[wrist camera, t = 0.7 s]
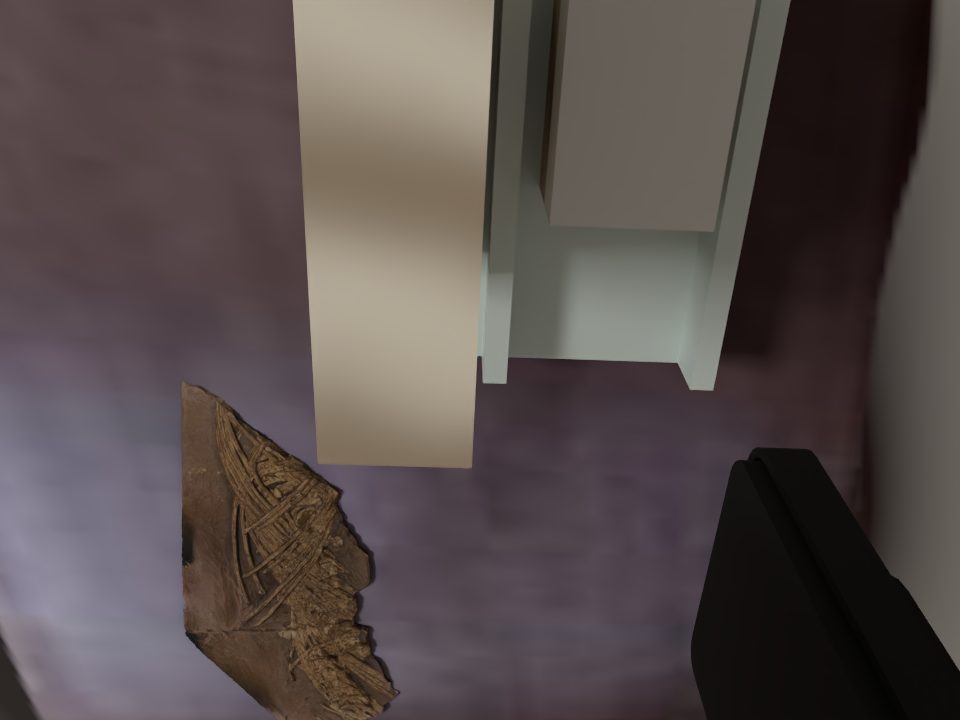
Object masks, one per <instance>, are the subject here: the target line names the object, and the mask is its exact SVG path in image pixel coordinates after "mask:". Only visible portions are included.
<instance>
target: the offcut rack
mask: <svg viewBox="0 0 960 720" xmlns="http://www.w3.org/2000/svg"><path fill="white" fill-rule="evenodd" d="M790 1H791V0H756V4H755V10H754V15H753V21H752V26H751V32H750V37H749V43H748V48H747V54H746V59H745V65H744V70H743V76H742V81H741V87H740V92H739V98H738V103H737V109H736V114H735V120H734V125H733V131H732V136H731V142H730V147H729V153H728V158H727V164H726V169H725V175H724V180H723V186H722V191H721V197H720V202H719V208H718V214H717V219H716V225H715V230H714V232H706V231H680V230H654V229H628V228H602V227H576V226H550V225H549V221H548V217H547V214H546V210H545V206H544V202H543V198H542V195H541V191H540V187H539V183H540V170H541V157H542V145H543V132H544V119H545V106H546V94H547V81H548V68H549V56H550V43H551V30H552V18H553V5H554V0H494V17H493V38H492V59H491V79H490V100H489V120H488V141H487V162H486V182H485V203H484V224H483V244H482V265H481V285H480V306H479V327H478V347H477V356H482V370H483V383H500V384H506V378H507V364H508V357H524V358H554V359H583V360H613V361H643V362H673V363H678V365H679V367H680V369H681V371H682V373H683V375H684V378H685V380H686V382H687V384H688V386H689V388H690V390H713V388H714V383H715V378H716V373H717V368H718V363H719V358H720V353H721V348H722V343H723V338H724V333H725V328H726V323H727V318H728V313H729V307H730V302H731V297H732V292H733V287H734V282H735V277H736V272H737V267H738V262H739V257H740V252H741V247H742V242H743V237H744V232H745V227H746V222H747V217H748V212H749V207H750V202H751V197H752V192H753V187H754V182H755V177H756V172H757V167H758V162H759V157H760V152H761V147H762V142H763V136H764V131H765V126H766V121H767V116H768V111H769V106H770V101H771V96H772V91H773V86H774V81H775V76H776V71H777V66H778V61H779V56H780V51H781V46H782V41H783V36H784V31H785V26H786V21H787V16H788V11H789V6H790Z"/></svg>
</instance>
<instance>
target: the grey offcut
mask: <svg viewBox="0 0 960 720" xmlns="http://www.w3.org/2000/svg"><path fill="white" fill-rule="evenodd" d="M755 4H756V0H561V5H560V17H559V29H558V41H557V54H556V66H555V78H554V90H553V102H552V114H551V127H550V139H549V151H548V163H547V175H546V187H545V199H544V206H545V210H546V214H547V217H548V221H549V225H550V226H576V227H602V228H628V229H654V230H680V231H706V232H714V230H715V225H716V219H717V214H718V208H719V202H720V197H721V191H722V186H723V180H724V175H725V169H726V164H727V158H728V153H729V147H730V142H731V136H732V131H733V125H734V120H735V114H736V109H737V103H738V98H739V92H740V87H741V81H742V76H743V70H744V65H745V59H746V54H747V48H748V43H749V37H750V32H751V26H752V21H753V15H754V10H755Z"/></svg>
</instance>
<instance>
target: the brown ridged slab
mask: <svg viewBox="0 0 960 720" xmlns="http://www.w3.org/2000/svg"><path fill="white" fill-rule="evenodd" d="M182 474H183V475H182V487H183V491H182V495H183V497H182V503H183V507H182V539H183V542H182V577H183V597H184V599H185V600H184V601H185V605H184V606H185V608H186V609H183V611H184V627H185V630H186V632H185V633H186V636H188V638H189V639H190V640H191V641H192V642H193V643H194V644H195V646H196V647H197V648H198V649H199V650H200V651H201V652H202V653H203V654H204V655H205V656H206V657H208V658H209V659H210V660H211V661H212V662H214V663H215V664H216V665H217V666H218V667H219V668H220V669H221V670H222V671H223V672H225V673H226V674H227V675H228V676H229V677H230V678H232V679H233V681H235V682H236V683H237V684H238V685H239V686H241V687H242V688H243V689H244V690H245V691H246V692H247V693H248V694H249V695H251V696H252V697H253V698H254V699H255V700H256V701H257V702H258V703H259V704H260V705H261V706H263V707H264V708H265V709H266V710H267V711H268V712H269V713H271V714H273V716H274V717H276V719H277V720H367V719H368V718H372V717H377V716H378V715H379V714H380V713H382V712H383V709H384V706H383V705H384V704H386V703H387V702H389V701H390V700H391V699H393V698H394V697H395V696H396V695H397V694H398V691H397V690H396V689H394V688H392V686H391V682H390V681H388V680H387V678H385V677H384V672H383V669H382V667H381V664H380V665H379V663H378V661H377V660H375V658H374V656H372V655H371V651H370V645H371V643H370V642H369V639H368V633H369V629H368V627H365V626H362V625H359V624H356V623H355V622H354V620H355V613H356V611H357V602H356V601H357V596H356V595H355V593H356V592H358V591H360V590H361V589H363V588H365V587H366V586H367V585H368V584H369V582H370V566H369V561H368V559H369V557H368V555H367V554H366V553H364V552H363V551H362V550H361V549H360V548H359V546H358V544H357V542H356V539H355V538H354V537H353V536H352V535H351V534H350V532H349V530H348V528H347V527H346V526H345V524H344V522H343V518H342V515H341V513H340V511H339V509H338V505H337V501H338V499H339V497H340V493H339V492H338V491H337V490H336V489H335V488H334V487H333V486H331V485H330V484H329V483H328V482H327V481H326V480H325V479H324V478H322V477H321V476H319V475H317V474H315V473H314V472H312V471H311V470H310V469H309V468H308V467H307V466H306V465H305V464H304V463H303V462H302V461H300V460H298V459H296V458H295V457H294V456H293V455H291V454H290V455H289V454H285V453H283V452H282V451H281V449H280V448H279V447H278V446H277V445H276V444H274V443H273V442H271V441H270V440H267V439H265V437H263V436H261V435H260V434H258V433H257V432H256V431H254V430H253V429H251V428H250V427H249V426H248V425H247V424H246V423H244V422H242V421H239V420H237V419H236V418H235V416H234V413H233V410H232V409H231V408H230V407H229V406H228V405H227V404H226V403H225V401H224V400H223V399H221V398H220V397H217V396H216V395H214V394H212V393H210V392H208V391H207V390H205V389H204V388H202V387H200V386H198V385H192V384H189V383H186V382H182ZM190 631H191V632H190Z"/></svg>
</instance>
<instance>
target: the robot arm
mask: <svg viewBox="0 0 960 720" xmlns="http://www.w3.org/2000/svg"><path fill="white" fill-rule="evenodd" d="M691 661H692V668H693V672H694V676H695V680H696V683H697V686H698V690H699V693H700V697H701V700H702V703H703V707H704V710H705V714H706V717H707V720H960V671H959V670H958V668H957V667H956V665H955V663H954V662H953V660H952V659H951V657H950V656H949V654H948V652H947V651H946V649H945V648H944V646H943V644H942V643H941V641H940V640H939V638H938V637H937V635H936V634H935V632H934V630H933V629H932V627H931V626H930V624H929V623H928V621H927V619H926V618H925V616H924V615H923V613H922V612H921V610H920V609H919V608H918V605H917V604H916V602H915V601H914V599H913V598H912V596H911V594H910V593H909V591H908V590H907V589H906V588H905V587H904V585H903V584H902V583H901V582H900V581H899V579H897V578H895V577H893V576H891V575H890V573H889V571H888V570H887V568H886V567H885V566H884V563H883V562H882V560H881V559H880V557H879V555H878V554H877V552H876V551H875V549H874V548H873V546H872V544H871V543H870V541H869V540H868V538H867V536H866V535H865V533H864V532H863V530H862V528H861V527H860V525H859V524H858V522H857V521H856V519H855V517H854V516H853V514H852V513H851V511H850V509H849V508H848V506H847V505H846V503H845V501H844V500H843V498H842V497H841V495H840V493H839V492H838V490H837V489H836V487H835V486H834V484H833V482H832V481H831V479H830V478H829V476H828V474H827V473H826V471H825V470H824V468H823V466H822V465H821V463H820V462H819V460H818V458H817V457H816V456H815V454H814V453H813V452H812V451H811V450H807V449H790V448H760V447H757V448H755V449H753V451H752V452H751V454H750V455H749V458H748V460H738V461H736V462H735V463H734V464H733V466H732V469H731V472H730V476H729V481H728V485H727V489H726V493H725V498H724V502H723V506H722V511H721V515H720V519H719V523H718V528H717V532H716V536H715V541H714V545H713V549H712V553H711V558H710V562H709V566H708V571H707V575H706V579H705V583H704V588H703V592H702V596H701V601H700V605H699V609H698V613H697V618H696V622H695V626H694V631H693V635H692V641H691Z"/></svg>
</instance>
